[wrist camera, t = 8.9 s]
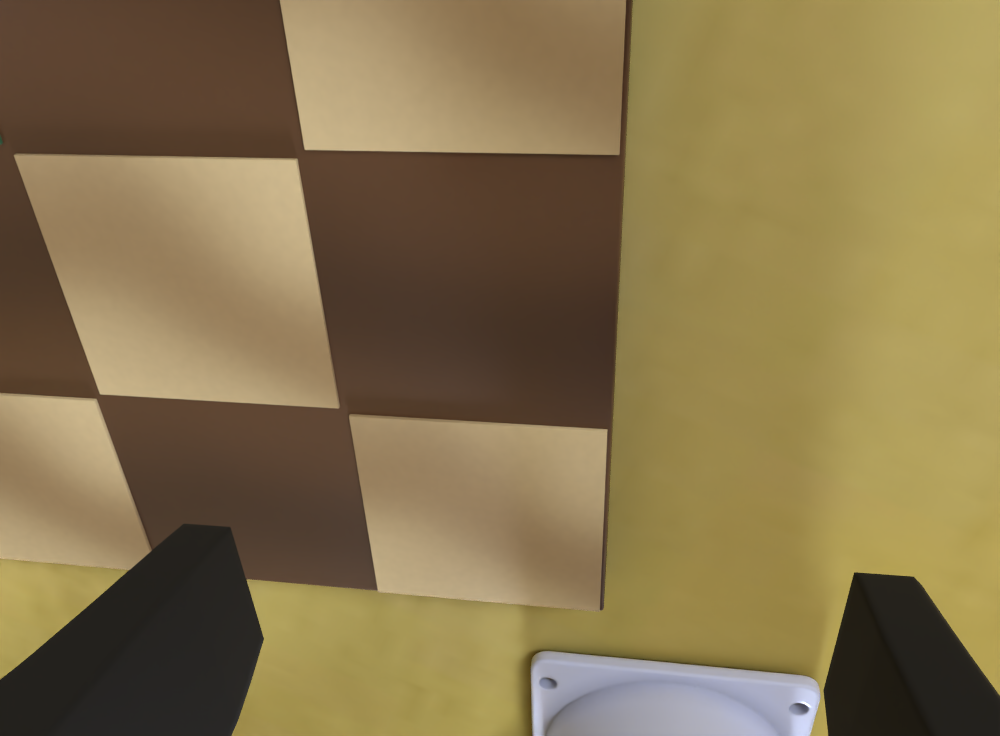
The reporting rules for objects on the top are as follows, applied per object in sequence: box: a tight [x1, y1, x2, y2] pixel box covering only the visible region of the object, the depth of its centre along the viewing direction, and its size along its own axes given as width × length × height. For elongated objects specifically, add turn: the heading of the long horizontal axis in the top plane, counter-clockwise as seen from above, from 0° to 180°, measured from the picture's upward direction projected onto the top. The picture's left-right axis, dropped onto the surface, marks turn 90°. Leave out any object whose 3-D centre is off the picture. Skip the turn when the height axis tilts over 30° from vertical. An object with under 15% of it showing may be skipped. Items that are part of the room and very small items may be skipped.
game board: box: [0, 0, 633, 612], centre depth 19 cm, size 18×18×1 cm
